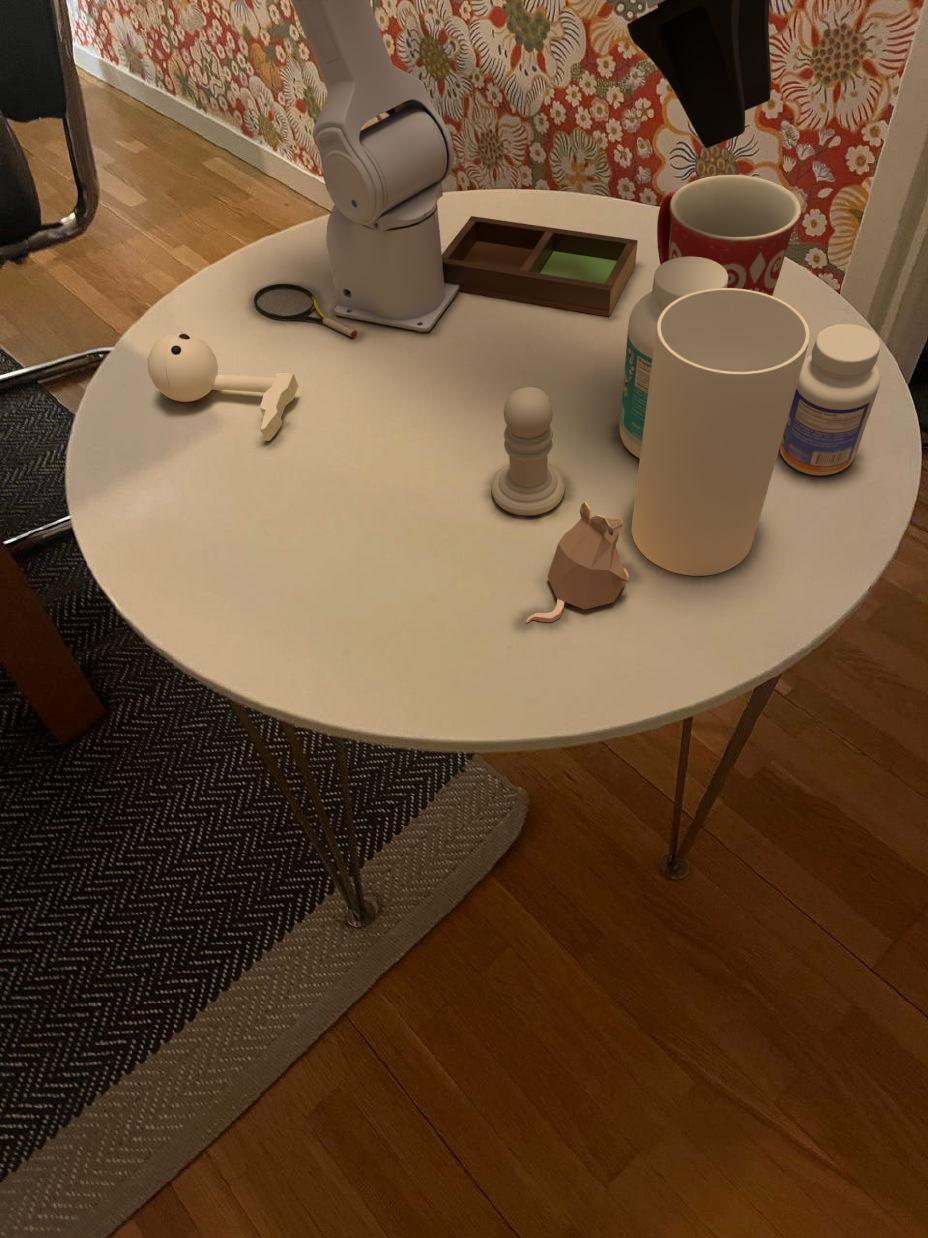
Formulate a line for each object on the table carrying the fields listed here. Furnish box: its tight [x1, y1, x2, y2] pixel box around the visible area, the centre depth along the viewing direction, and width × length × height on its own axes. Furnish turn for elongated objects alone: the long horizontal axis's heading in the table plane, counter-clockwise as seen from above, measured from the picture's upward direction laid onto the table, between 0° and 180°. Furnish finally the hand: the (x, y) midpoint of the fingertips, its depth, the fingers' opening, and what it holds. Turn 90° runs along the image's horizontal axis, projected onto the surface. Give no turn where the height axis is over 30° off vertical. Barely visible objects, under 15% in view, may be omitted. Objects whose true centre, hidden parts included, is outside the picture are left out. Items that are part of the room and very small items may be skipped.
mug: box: [656, 174, 802, 297], centre depth 68 cm, size 13×9×14 cm
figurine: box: [147, 332, 299, 442], centre depth 71 cm, size 8×6×12 cm
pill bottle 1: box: [619, 257, 728, 459], centre depth 62 cm, size 8×7×14 cm
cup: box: [631, 288, 810, 577], centre depth 55 cm, size 8×8×16 cm
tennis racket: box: [253, 283, 358, 339], centre depth 81 cm, size 12×1×5 cm
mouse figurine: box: [525, 501, 630, 624], centre depth 56 cm, size 5×8×7 cm, turn 127°
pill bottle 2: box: [779, 323, 881, 476], centre depth 61 cm, size 5×5×10 cm
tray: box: [442, 215, 639, 317], centre depth 81 cm, size 9×16×3 cm, turn 68°
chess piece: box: [490, 386, 566, 517], centre depth 61 cm, size 5×5×9 cm
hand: (739, 122), depth 50 cm, fingers open, 7 cm apart
